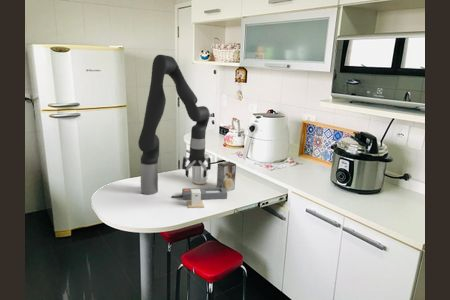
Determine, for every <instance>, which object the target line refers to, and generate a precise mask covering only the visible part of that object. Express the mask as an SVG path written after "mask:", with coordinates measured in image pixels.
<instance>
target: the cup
mask: <svg viewBox="0 0 450 300" xmlns="http://www.w3.org/2000/svg"><path fill="white" fill-rule="evenodd" d="M208 157H210V158H211V155H210V154H208V153H205V158H208ZM203 164H204V165H205V166H206V167H208V162H207V161H206V160H205V161H204V163H203ZM191 168H192V169H191V175H192V176H191V180H192V181H191V183H193V185H197V186H203V185H206V184H207V183H208V176H209V175H208V174H209V170H207V174H206V176H205V178H204V177H203V171H204V168H203V167H202V166H192V167H191Z"/></svg>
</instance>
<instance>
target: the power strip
mask: <svg viewBox="0 0 450 300" xmlns="http://www.w3.org/2000/svg"><path fill="white" fill-rule="evenodd" d="M191 189H200V191H201V200H202V201H203V200H204V201H207V200H227V199H228V191H227V192H226V190H225V188H217V187H197V188H196V187H191V188H190V187H189V188H187V187H186V188H182V189H181V190H182V192H181V195H171V198H172V199H173V198H178V199H179V198H182V201H187V200H191Z"/></svg>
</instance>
